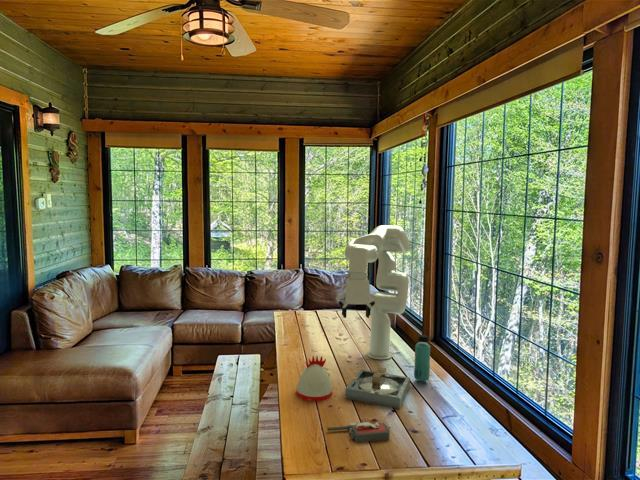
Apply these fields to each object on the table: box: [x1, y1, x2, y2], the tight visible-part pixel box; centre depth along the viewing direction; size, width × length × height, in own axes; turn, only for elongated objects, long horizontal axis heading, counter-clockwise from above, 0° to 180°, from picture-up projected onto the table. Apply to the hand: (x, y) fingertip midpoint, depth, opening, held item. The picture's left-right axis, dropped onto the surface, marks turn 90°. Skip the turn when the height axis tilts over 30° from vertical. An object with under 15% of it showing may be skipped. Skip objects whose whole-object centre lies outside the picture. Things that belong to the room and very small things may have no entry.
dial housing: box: [344, 369, 411, 410], centre depth 174 cm, size 21×21×4 cm
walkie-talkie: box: [326, 421, 390, 443], centre depth 142 cm, size 9×4×20 cm
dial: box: [359, 367, 399, 395], centre depth 174 cm, size 16×16×6 cm
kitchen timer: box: [296, 355, 333, 402], centre depth 172 cm, size 14×14×15 cm
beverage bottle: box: [413, 334, 432, 382], centre depth 185 cm, size 6×7×20 cm
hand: (356, 317), depth 182 cm, fingers open, 9 cm apart
